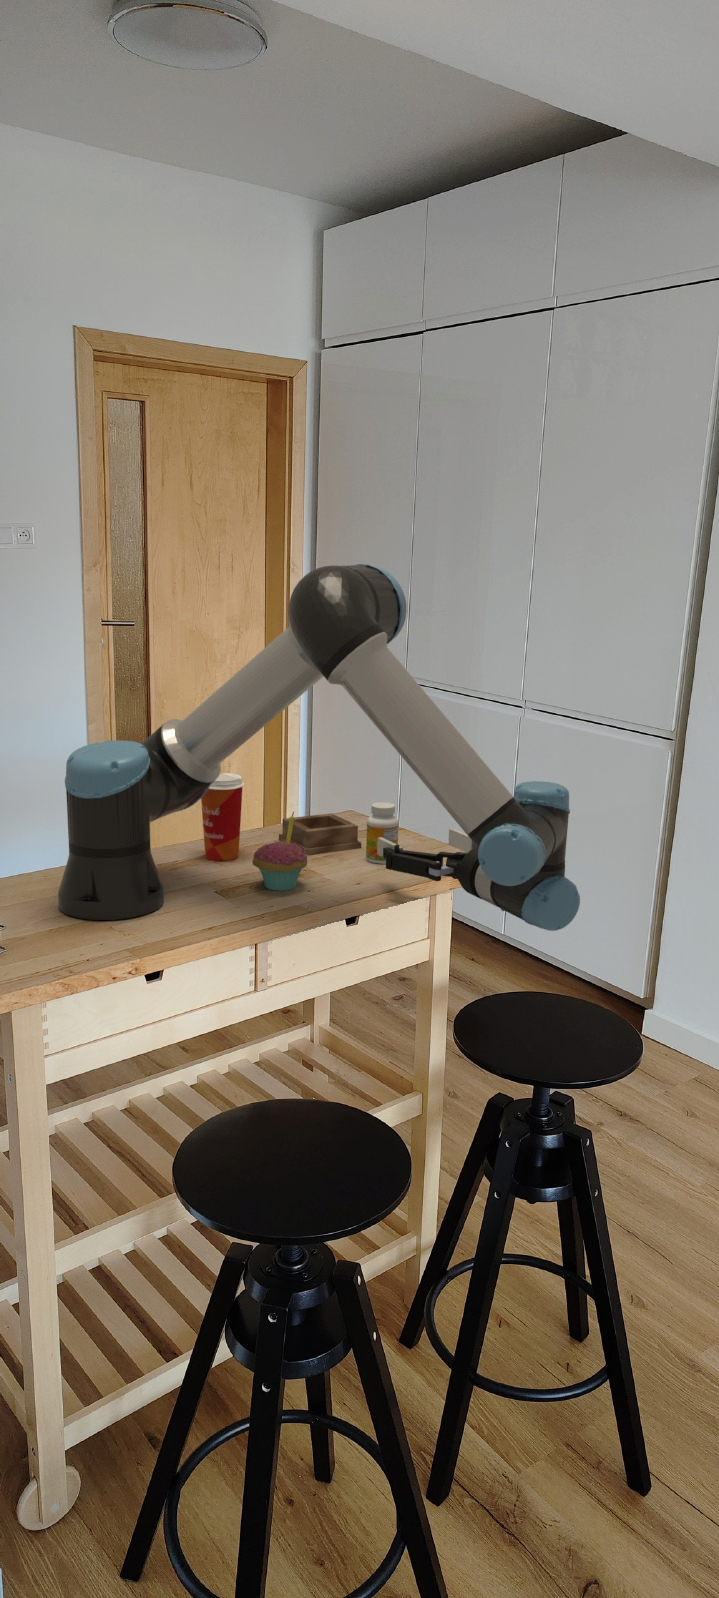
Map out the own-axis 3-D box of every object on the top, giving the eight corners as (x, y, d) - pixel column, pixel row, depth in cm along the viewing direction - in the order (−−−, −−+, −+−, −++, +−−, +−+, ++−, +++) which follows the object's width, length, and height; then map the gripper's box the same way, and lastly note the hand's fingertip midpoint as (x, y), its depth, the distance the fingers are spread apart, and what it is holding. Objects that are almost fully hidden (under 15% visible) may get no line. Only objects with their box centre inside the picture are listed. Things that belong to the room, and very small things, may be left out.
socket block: (305, 855, 186) (306, 832, 185) (278, 839, 196) (278, 818, 195) (361, 847, 192) (361, 826, 191) (332, 833, 201) (332, 812, 200)
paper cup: (193, 853, 186) (192, 773, 183) (236, 849, 189) (235, 770, 186) (207, 865, 179) (206, 783, 176) (251, 860, 182) (251, 780, 179)
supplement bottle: (360, 857, 186) (361, 802, 183) (387, 854, 188) (389, 800, 186) (375, 866, 181) (377, 809, 179) (403, 862, 184) (405, 806, 181)
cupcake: (298, 876, 174) (299, 804, 172) (314, 892, 166) (315, 817, 164) (246, 880, 171) (246, 807, 169) (260, 897, 164) (260, 820, 161)
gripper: (419, 913, 151) (347, 872, 169) (559, 889, 163) (477, 854, 181) (421, 862, 150) (348, 826, 168) (562, 842, 162) (479, 811, 180)
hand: (415, 840), depth 174 cm, fingers open, 13 cm apart
